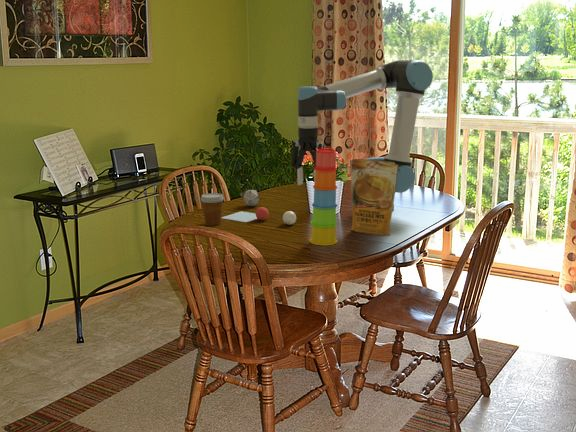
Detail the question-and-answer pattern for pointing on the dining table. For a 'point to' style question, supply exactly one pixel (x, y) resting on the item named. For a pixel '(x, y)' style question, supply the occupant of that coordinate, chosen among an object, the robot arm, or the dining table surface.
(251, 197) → the game die
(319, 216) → the stacking cups
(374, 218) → the pancake mix bag
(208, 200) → the disposable coffee cup
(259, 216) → the red ball
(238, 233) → the dining table surface
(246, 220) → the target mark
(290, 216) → the cue ball
